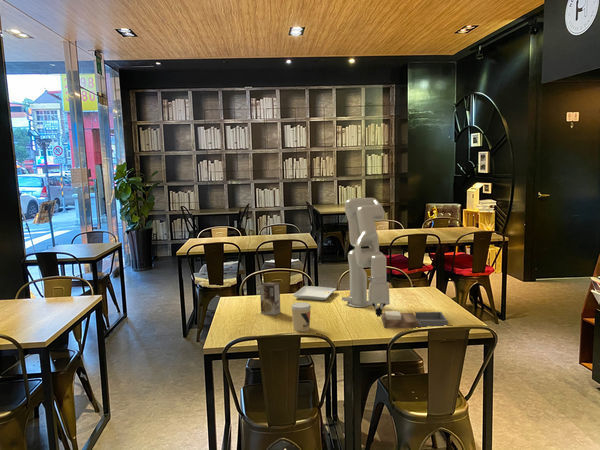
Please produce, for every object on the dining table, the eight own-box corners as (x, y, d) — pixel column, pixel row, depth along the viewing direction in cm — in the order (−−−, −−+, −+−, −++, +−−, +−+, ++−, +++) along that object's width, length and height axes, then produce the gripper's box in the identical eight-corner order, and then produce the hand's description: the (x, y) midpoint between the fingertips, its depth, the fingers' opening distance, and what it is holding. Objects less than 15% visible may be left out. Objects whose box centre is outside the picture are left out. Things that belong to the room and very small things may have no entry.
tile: (386, 319, 233) (386, 315, 233) (385, 315, 240) (385, 311, 240) (401, 319, 232) (401, 315, 232) (399, 315, 239) (399, 311, 239)
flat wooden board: (384, 328, 230) (384, 322, 229) (381, 318, 244) (381, 312, 243) (418, 327, 229) (418, 321, 229) (412, 318, 243) (413, 312, 242)
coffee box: (281, 312, 258) (280, 283, 256) (275, 315, 252) (274, 285, 250) (266, 310, 262) (265, 281, 260) (260, 313, 256) (259, 284, 254)
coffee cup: (304, 333, 225) (304, 308, 223) (288, 330, 230) (287, 306, 228) (314, 327, 233) (314, 303, 231) (298, 324, 238) (297, 301, 236)
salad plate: (326, 302, 275) (326, 297, 275) (292, 300, 282) (292, 294, 282) (336, 293, 295) (336, 287, 294) (304, 290, 302) (304, 285, 302)
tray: (418, 327, 229) (418, 320, 229) (413, 318, 243) (413, 312, 242) (447, 327, 228) (447, 320, 228) (440, 318, 242) (441, 311, 241)
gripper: (363, 281, 231) (364, 318, 233) (395, 281, 230) (394, 318, 232) (362, 278, 238) (363, 313, 241) (393, 278, 237) (392, 313, 240)
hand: (378, 315), depth 236 cm, fingers closed
